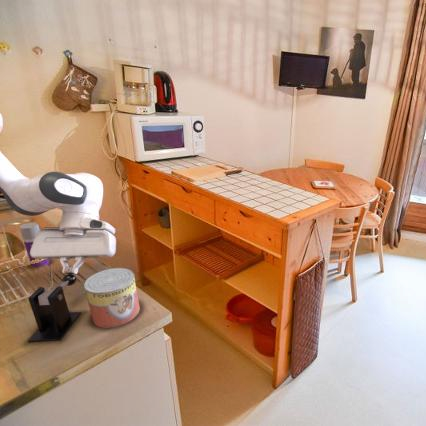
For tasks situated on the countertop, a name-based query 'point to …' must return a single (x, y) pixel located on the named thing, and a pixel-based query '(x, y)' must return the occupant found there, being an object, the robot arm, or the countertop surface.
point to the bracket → (51, 316)
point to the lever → (66, 281)
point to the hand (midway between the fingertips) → (69, 273)
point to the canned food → (112, 297)
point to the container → (31, 240)
